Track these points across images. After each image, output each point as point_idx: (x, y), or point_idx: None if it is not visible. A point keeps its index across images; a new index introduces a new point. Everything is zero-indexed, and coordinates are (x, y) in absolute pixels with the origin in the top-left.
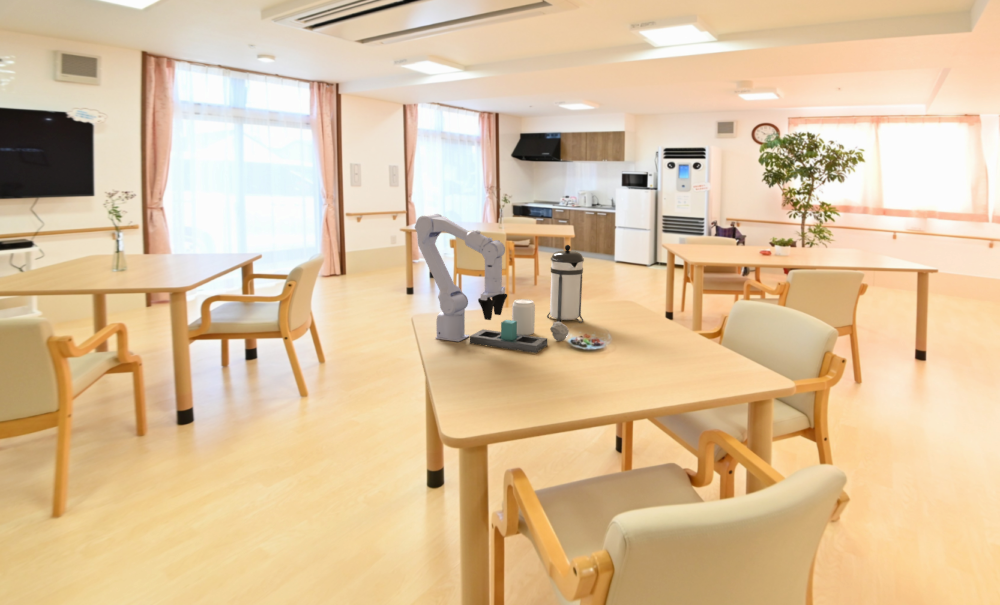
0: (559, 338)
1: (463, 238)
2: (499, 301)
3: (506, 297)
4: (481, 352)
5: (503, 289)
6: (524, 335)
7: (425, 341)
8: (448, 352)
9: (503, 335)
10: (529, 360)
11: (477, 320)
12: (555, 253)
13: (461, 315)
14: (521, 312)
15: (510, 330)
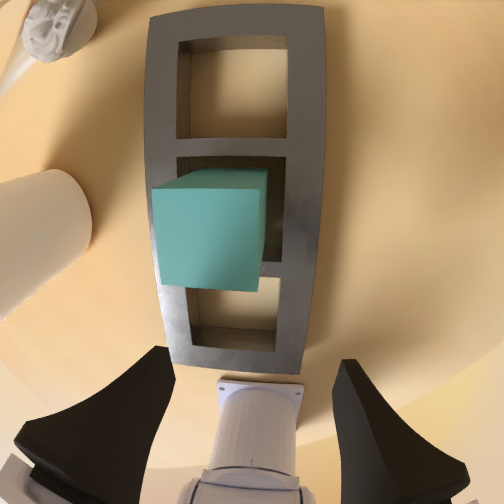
0: (96, 14)
1: None
2: (122, 443)
3: (38, 422)
4: (406, 265)
5: (23, 500)
6: (151, 141)
7: (325, 437)
8: (422, 358)
9: (264, 233)
10: (424, 36)
11: (68, 384)
12: None
13: (263, 468)
14: (10, 244)
15: (263, 191)
